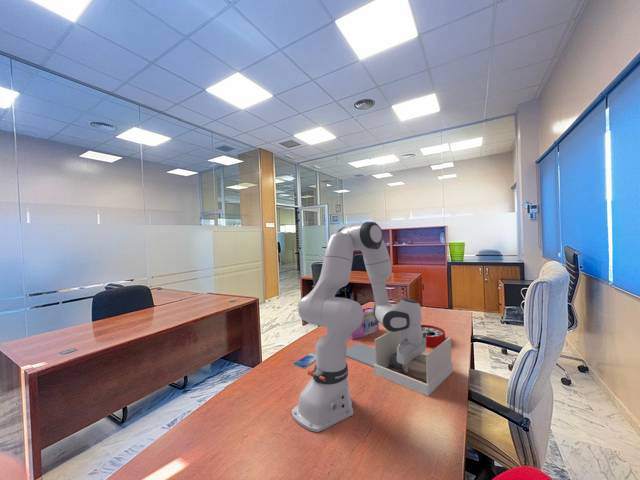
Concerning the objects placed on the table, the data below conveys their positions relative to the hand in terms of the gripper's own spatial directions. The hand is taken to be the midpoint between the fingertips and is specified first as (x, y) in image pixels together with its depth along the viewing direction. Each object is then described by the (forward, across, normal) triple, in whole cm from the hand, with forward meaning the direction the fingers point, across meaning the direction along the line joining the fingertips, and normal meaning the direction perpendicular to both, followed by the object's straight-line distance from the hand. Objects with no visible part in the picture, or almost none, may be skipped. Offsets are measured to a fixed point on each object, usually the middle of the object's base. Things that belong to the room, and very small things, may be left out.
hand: (412, 367), depth 116 cm
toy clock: (+3, +38, +11) cm, 40 cm away
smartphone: (+3, -24, +42) cm, 49 cm away
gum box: (+2, +23, +45) cm, 50 cm away
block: (+2, 0, 0) cm, 2 cm away
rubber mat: (+2, 0, +24) cm, 25 cm away
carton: (+2, 0, 0) cm, 2 cm away
